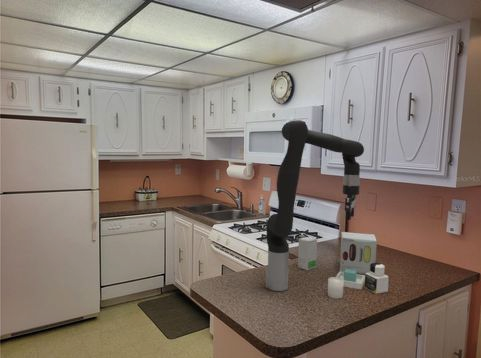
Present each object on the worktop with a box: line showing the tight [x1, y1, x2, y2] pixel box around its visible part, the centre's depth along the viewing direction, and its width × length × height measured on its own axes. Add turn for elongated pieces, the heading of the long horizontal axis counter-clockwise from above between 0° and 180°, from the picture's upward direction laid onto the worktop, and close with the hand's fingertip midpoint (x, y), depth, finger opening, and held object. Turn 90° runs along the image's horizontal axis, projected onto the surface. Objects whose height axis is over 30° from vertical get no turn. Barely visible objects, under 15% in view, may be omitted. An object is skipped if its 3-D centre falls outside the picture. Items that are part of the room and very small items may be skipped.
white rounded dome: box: [327, 276, 344, 299], centre depth 152 cm, size 6×6×7 cm
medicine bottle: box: [364, 262, 389, 294], centre depth 159 cm, size 7×7×12 cm
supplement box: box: [339, 231, 378, 275], centre depth 185 cm, size 17×13×18 cm
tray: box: [335, 270, 365, 290], centre depth 167 cm, size 12×12×3 cm
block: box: [343, 269, 358, 282], centre depth 167 cm, size 5×5×5 cm
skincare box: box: [297, 236, 318, 271], centre depth 187 cm, size 8×7×16 cm
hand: (349, 218), depth 169 cm, fingers open, 8 cm apart
